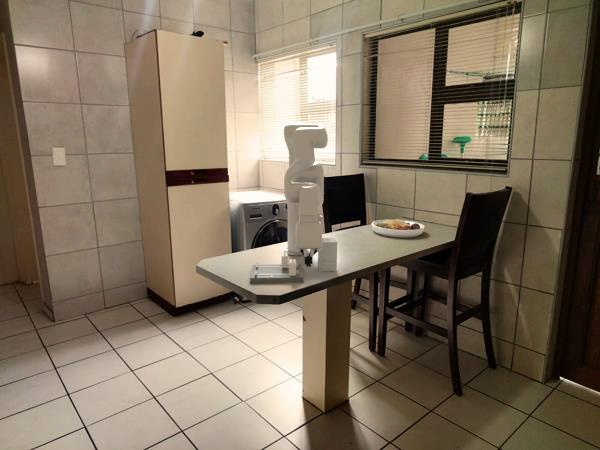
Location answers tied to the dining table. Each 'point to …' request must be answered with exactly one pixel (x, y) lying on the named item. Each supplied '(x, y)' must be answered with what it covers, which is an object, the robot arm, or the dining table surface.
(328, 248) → the supplement box
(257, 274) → the console
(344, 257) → the dining table surface
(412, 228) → the bowl
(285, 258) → the block
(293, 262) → the block
